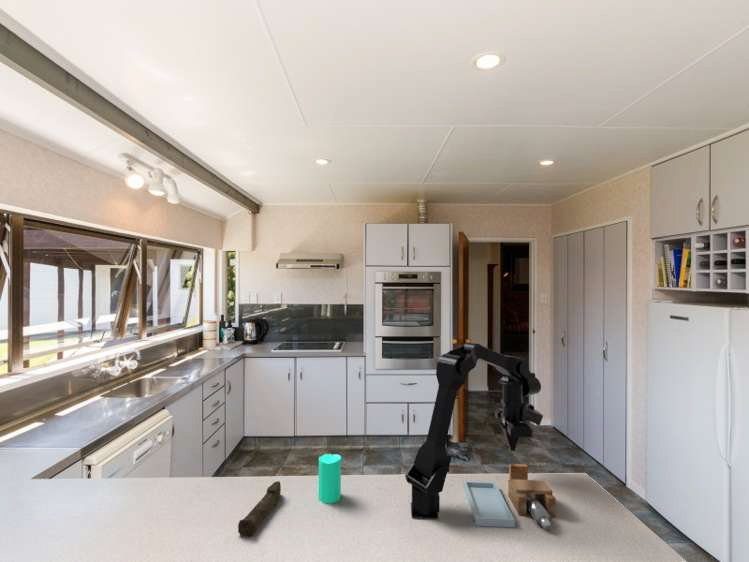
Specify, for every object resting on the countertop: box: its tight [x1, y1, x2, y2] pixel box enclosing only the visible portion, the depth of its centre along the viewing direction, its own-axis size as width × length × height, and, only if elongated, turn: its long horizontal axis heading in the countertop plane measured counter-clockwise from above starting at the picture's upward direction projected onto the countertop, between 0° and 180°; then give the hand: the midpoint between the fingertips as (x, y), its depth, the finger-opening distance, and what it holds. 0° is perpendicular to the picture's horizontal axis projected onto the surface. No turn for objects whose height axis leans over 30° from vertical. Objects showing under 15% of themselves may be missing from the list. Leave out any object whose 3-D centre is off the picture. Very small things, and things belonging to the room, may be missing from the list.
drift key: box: [508, 463, 529, 480], centre depth 109 cm, size 5×9×6 cm, turn 177°
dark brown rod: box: [237, 480, 282, 538], centre depth 97 cm, size 19×4×5 cm, turn 168°
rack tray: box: [462, 480, 516, 528], centre depth 102 cm, size 9×19×2 cm, turn 177°
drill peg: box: [524, 493, 552, 531], centre depth 97 cm, size 4×13×4 cm, turn 177°
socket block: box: [507, 479, 556, 518], centre depth 102 cm, size 9×9×5 cm
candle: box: [317, 453, 342, 504], centre depth 105 cm, size 6×6×12 cm
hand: (512, 450), depth 118 cm, fingers closed
